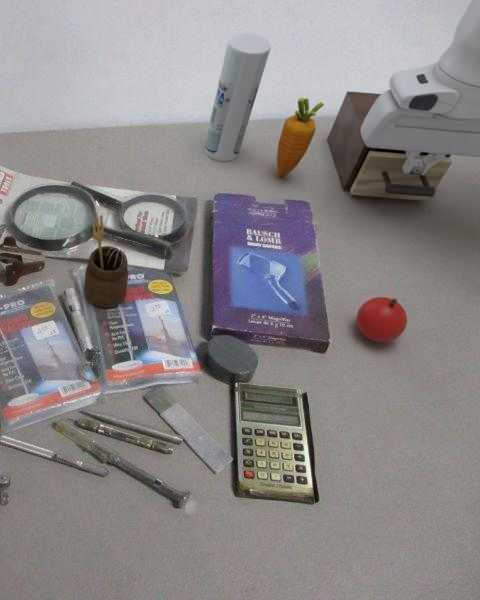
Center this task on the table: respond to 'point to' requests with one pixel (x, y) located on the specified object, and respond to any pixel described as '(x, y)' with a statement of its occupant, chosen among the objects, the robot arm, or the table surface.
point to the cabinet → (350, 136)
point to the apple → (381, 319)
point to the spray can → (236, 95)
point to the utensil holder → (105, 272)
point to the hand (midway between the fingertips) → (412, 172)
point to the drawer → (396, 176)
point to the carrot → (296, 137)
